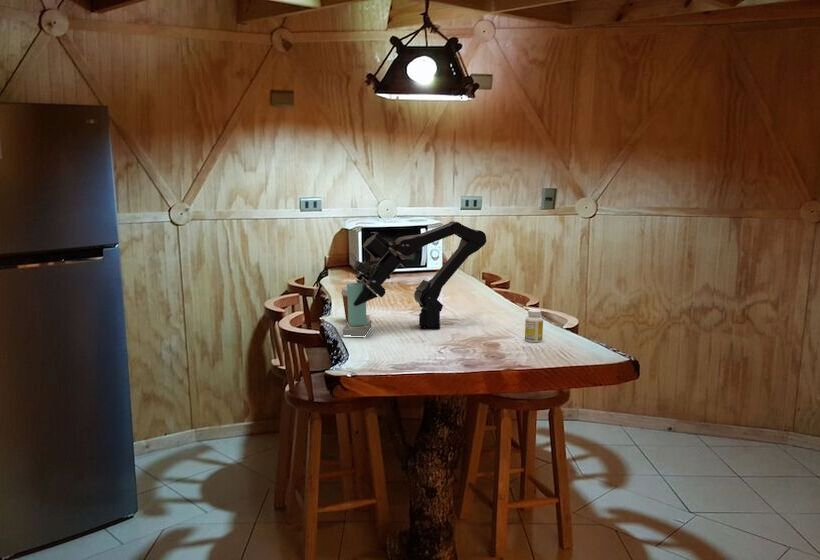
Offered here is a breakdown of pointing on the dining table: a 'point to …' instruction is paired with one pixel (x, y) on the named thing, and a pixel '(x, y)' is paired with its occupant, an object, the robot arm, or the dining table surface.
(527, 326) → the supplement bottle
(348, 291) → the column
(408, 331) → the dining table surface
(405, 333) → the dining table surface
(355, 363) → the dining table surface
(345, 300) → the disposable coffee cup
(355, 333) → the base plate
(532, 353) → the dining table surface
